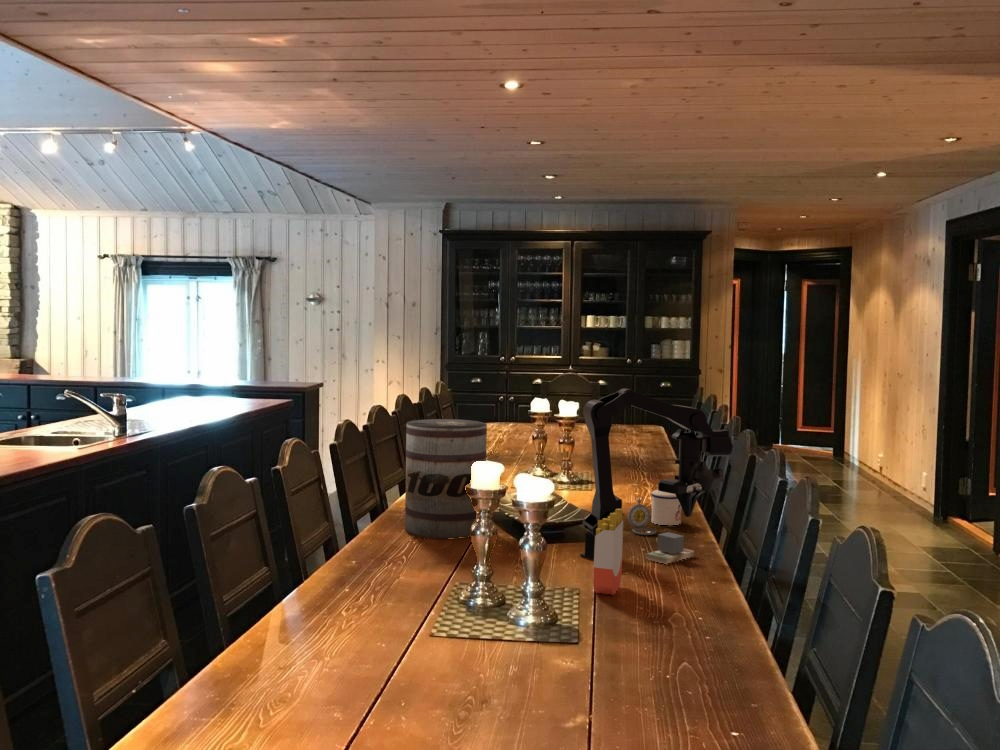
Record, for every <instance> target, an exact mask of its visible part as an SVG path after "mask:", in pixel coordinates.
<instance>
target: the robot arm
mask: <svg viewBox="0 0 1000 750" xmlns="http://www.w3.org/2000/svg"><path fill="white" fill-rule="evenodd" d="M628 407H634V408H636V409H640V410H643V411H645V412H648V413H652V414H655V415H658V416H661V417H664V418H665V419H667V420H669V421H670V422H672V423H673V424H676V425H678V426H679V427H681V428H682V429H685V430H689V432H687V431H686V432H684V431H683V430H682V429H677V430H676V431H675V432H674V433H673V434H672V435H671V438H672V439H675V440H679V443H678V445H679V448H678V449H679V450H678V459H675V460H674V464H677V465H678V467H677V468H678V471H677V472H678V473H677V474H676V475H674V479H673V478H665V479H660V481H659V482H658V484H657V490H658V491H662V492H667V493H672V494H675V495H676V497H677V498H678V500H679V503H680V505H681V510H682V513H683V514H684V516H685V517H687V518H690V517H691V516H692V514H693V511H694V508H695V505H696V503H697V500H698V499H699V497H700V496H702V494H703V493H705V492H706V491H711V490H714V489H716V490H717V489H718V488H719V487H720V483H723V482H724V481H725V480H724V476H725V475H724V469H722V468H720V467H717V468H714V469H712V468H711V469H710V468H708V467H706V466H707V464H706V461H705V460H702V455H703V453H704V455H705V456H706V457H729V456H731V454H732V452H733V443H732V439H731V436H730V431H729V430H728V429H719V430H715V429H714V430H713V429H712V428H711V426H710V424H709V423H708V421H707V415H706V413H705V411H704V410H702V409H699V408H695V407H693V406H692V407H691V406H686V405H679V404H671V403H669V402H665V401H662V400H660V399H657V398H653V397H651V396H648V395H645V394H643V393H639V392H636V391H635V390H633V389H630V388H621V389H619V390H617V391H616V392H614V393H611V394H608V395H606V396H604V397H601V398H599V399H591V400H588V402H586V404H585V405H584V406H583V409H582V414H583V417H584V421H585V426H586V427H587V430H588V432H589V435H590V439H591V441H590V442H591V450H592V451H591V453H592V462H593V463H592V464H593V465H592V467H593V475H594V478H593V479H594V489H595V491H594V496H593V499H592V501H591V502H592V505H591V512H590V514H588V515H587V516H586V518H584V519H583V520H582V525H583V528H584V529H585V530H586V532H585V534H584V552H582V553H580V554H579V556H580V557H583V558H586V559H590V560H593V561H594V550H595V536H596V529H597V528H598V520H602V519H603V518H608V516H610V513H613V512H615V509H623V507H622V506H623V500H622V498H620V497H619V496H617V495H616V494H615V493H614V485H613V476H612V475H613V474H612V473H613V472H612V460H611V449H610V434H611V430H612V426H613V417H614V416H617V415H619V414H620V413H622V412H623V411H624V410H626V409H627V408H628ZM690 431H691V432H690ZM696 434H701V435H696ZM702 488H703V489H702ZM623 516H624V512H622V517H623Z"/></svg>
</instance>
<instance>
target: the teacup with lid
mask: <svg viewBox="0 0 1000 750" xmlns="http://www.w3.org/2000/svg"><path fill="white" fill-rule="evenodd" d="M651 497H652V498H651V517H650V518H651V521H650V522H651V523H652V524H653V523H654V525H656V524H658V525H657V526H660V525H669V526H668V527H671V526H670V525H678V526H680V525H681V524H682V507H681V505H680V503H679V500H678V498H677V497H676V495H675V494H672V493H667V492H662V491H658V489H655V490H653V491H652V492H651ZM679 524H680V525H679Z"/></svg>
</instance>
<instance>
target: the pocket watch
mask: <svg viewBox="0 0 1000 750" xmlns="http://www.w3.org/2000/svg"><path fill="white" fill-rule="evenodd" d="M638 497H640V498H642V499H640V498H638ZM637 498H638V499H637ZM634 500H635V501H636V502H637V504H635V505H633V506H631V507H630V509H629V511H628V512H627V514H628V515H627V519H628V522H629V524H630V525H631V526H633V528H632V532H633V533H634V534H636V535H639V536H640V535H641V536H653V535H655V534H656V533H657V529H655V528H652V527H644V526H646V525H647V524H648V522H649V520H650V518H651V517H650V516H651V513H650V510H649V508H648V507H647V506H646V505H644V504H641V503H642V501H644V497H643V496H642V495H636V496H635V498H634ZM639 530H645V531H651V532H650V533H644V532H637V531H639Z"/></svg>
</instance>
